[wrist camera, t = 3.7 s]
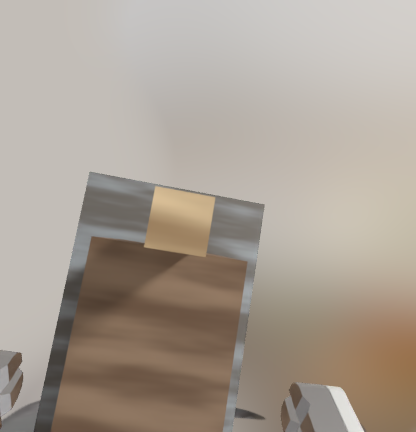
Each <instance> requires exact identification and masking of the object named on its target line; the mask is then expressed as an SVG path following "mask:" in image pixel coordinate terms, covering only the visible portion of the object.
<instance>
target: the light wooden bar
mask: <svg viewBox="0 0 416 432" xmlns="http://www.w3.org/2000/svg"><path fill="white" fill-rule="evenodd" d="M214 203H215V197H211V196H206V195H201V194H195V193H190V192H185V191H179V190H174V189H169V188H163V187H158V186H155V191H154V196H153V201H152V207H151V212H150V217H149V223H148V228H147V233H146V239H145V244H144V247H146V248H152V249H158V250H164V251H170V252H176V253H183V254H189V255H195V256H201V257H206V252H207V246H208V240H209V234H210V228H211V222H212V216H213V210H214Z"/></svg>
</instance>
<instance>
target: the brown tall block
mask: <svg viewBox="0 0 416 432" xmlns="http://www.w3.org/2000/svg"><path fill="white" fill-rule="evenodd" d="M155 186H158V187H163V188H169V189H174V190H179V191H185V192H190V193H195V194H201V195H206V196H211V197H215V203H214V210H213V216H212V222H211V228H210V234H209V240H208V246H207V252H206V257H201V256H195V255H189V254H183V253H176V252H170V251H164V250H158V249H152V248H146V247H144V244H145V239H146V233H147V228H148V223H149V217H150V212H151V207H152V201H153V196H154V191H155ZM263 212H264V204H259V203H253V202H248V201H242V200H237V199H232V198H227V197H221V196H215V195H211V194H205V193H200V192H195V191H190V190H184V189H179V188H174V187H168V186H163V185H158V184H152V183H147V182H142V181H136V180H131V179H126V178H120V177H115V176H110V175H104V174H99V173H94V172H90V173H89V178H88V182H87V187H86V192H85V197H84V201H83V205H82V210H81V215H80V219H79V224H78V229H77V233H76V238H75V243H74V247H73V252H72V257H71V261H70V266H69V271H68V275H67V280H66V284H65V289H64V294H63V298H62V303H61V308H60V312H59V317H58V321H57V326H56V331H55V335H54V340H53V345H52V349H51V354H50V359H49V363H48V368H47V373H46V378H45V382H44V386H43V391H42V396H41V400H40V405H39V410H38V414H37V419H36V424H35V428H34V432H232V428H233V421H234V415H235V408H236V401H237V394H238V387H239V380H240V372H241V366H242V359H243V351H244V344H245V337H246V331H247V323H248V317H249V309H250V302H251V295H252V289H253V282H254V274H255V267H256V261H257V254H258V247H259V240H260V233H261V226H262V218H263Z"/></svg>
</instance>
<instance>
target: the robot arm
mask: <svg viewBox="0 0 416 432" xmlns="http://www.w3.org/2000/svg"><path fill="white" fill-rule="evenodd" d="M21 362H22V355H21V353H18V352H11V351H3V350H0V428H1V427H2V424H1V416H2V415H4V414H5V413H7V412H8V411H9V410H11V409H12V407H13V405H14V403H15V402H16V400H17V398H18V395H19V393H20V390H21V387H22V382H23V372H22V371H21V370H20V369H19V368H18V367H19V366H20V364H21ZM289 391H290V396H289V397H287V398H286V399H285V400H284V402H283V405H282V409H281V421H282V427H283V431H284V432H364V431H363V429H362V427H361V425H360V423H359V421H358V419H357V417H356V415H355V413H354V411H353V409H352V407H351V405H350V403H349V400H348V398H347V396H346V394H345V392H344V391H343V390H342V389H341V388H340V387H334V386H324V385H318V384H308V383H297V382H295V383H293V384H292V385H291V387H290V389H289Z"/></svg>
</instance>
